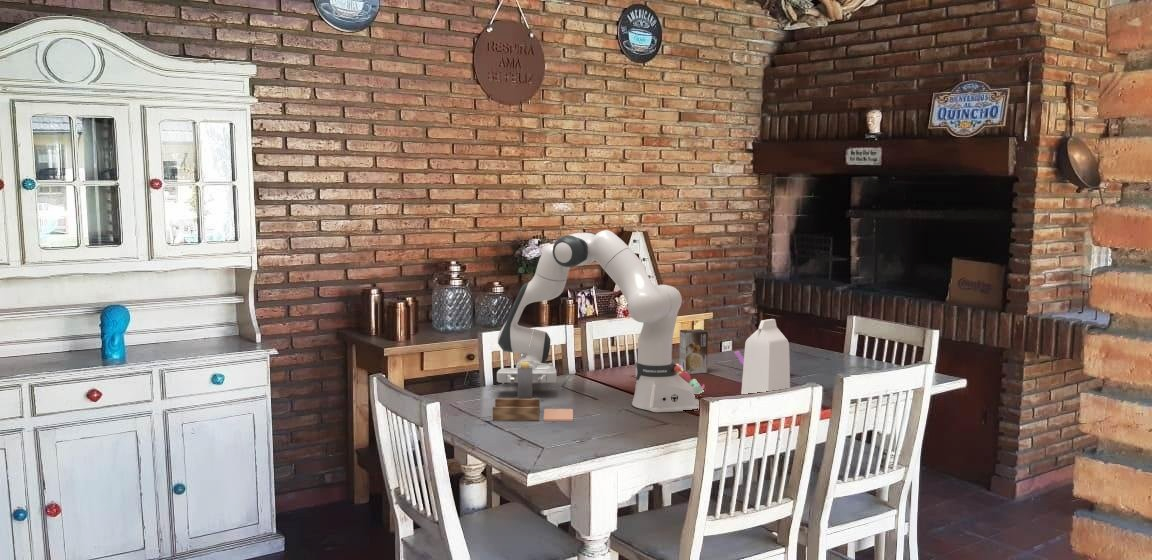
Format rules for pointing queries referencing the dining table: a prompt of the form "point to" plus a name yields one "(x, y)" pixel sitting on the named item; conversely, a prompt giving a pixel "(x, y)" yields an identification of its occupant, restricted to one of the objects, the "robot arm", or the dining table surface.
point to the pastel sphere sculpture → (693, 382)
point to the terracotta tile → (558, 414)
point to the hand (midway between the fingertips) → (525, 380)
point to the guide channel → (516, 409)
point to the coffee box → (693, 350)
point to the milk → (766, 360)
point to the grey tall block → (525, 381)
